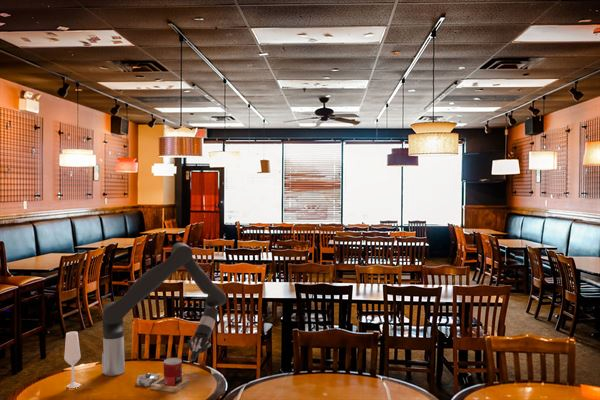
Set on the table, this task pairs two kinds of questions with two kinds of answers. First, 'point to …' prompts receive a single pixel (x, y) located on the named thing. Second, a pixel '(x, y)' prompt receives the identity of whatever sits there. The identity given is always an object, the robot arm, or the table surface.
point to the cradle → (158, 386)
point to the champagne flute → (72, 354)
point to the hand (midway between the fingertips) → (192, 359)
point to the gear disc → (147, 379)
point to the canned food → (172, 371)
